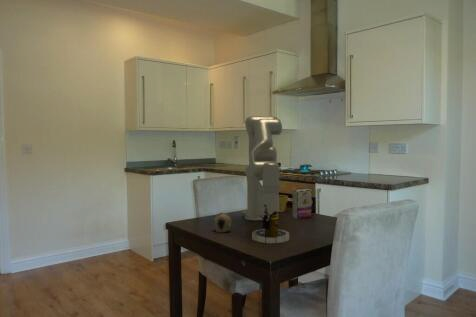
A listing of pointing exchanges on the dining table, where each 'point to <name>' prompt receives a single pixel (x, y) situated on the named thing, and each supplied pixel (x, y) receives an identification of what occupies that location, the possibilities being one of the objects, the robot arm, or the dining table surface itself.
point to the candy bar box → (302, 203)
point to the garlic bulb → (222, 222)
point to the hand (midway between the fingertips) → (270, 227)
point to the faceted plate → (259, 238)
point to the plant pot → (282, 202)
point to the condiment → (272, 226)
